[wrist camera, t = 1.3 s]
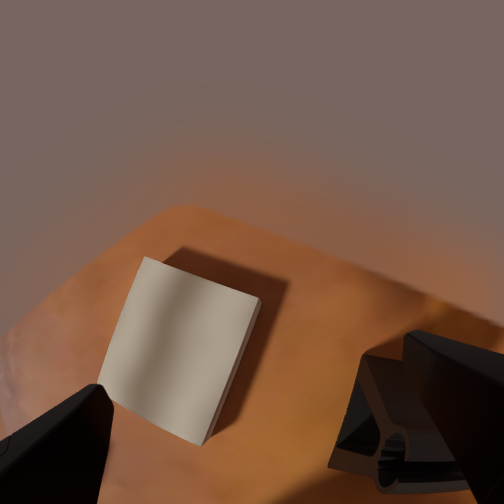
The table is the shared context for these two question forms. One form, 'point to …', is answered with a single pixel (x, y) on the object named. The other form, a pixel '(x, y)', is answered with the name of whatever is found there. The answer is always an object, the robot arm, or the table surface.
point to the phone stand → (393, 435)
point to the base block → (178, 349)
